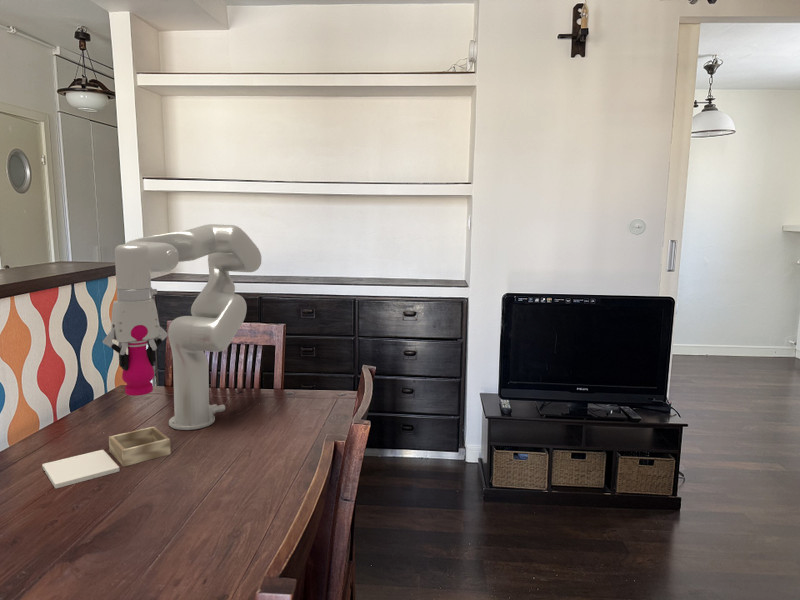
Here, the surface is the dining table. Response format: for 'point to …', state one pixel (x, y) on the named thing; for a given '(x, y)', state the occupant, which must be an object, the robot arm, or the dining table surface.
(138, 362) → the pepper mill
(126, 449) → the holder
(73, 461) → the tile
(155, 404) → the dining table surface
